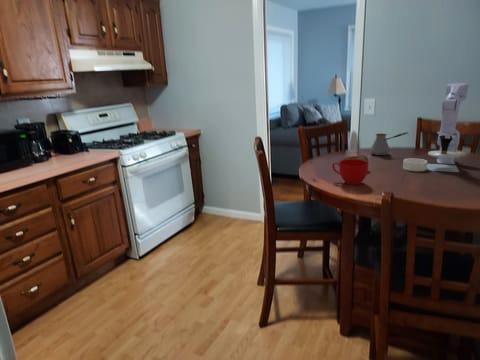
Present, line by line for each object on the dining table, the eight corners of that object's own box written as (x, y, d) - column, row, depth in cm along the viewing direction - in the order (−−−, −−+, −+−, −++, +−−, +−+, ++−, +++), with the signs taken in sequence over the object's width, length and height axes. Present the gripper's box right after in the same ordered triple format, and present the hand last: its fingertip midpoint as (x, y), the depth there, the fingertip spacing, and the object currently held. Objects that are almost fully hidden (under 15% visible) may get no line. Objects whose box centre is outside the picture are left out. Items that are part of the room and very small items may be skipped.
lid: (427, 151, 184) (428, 144, 183) (457, 152, 179) (458, 145, 178) (429, 157, 172) (430, 149, 171) (461, 158, 167) (462, 150, 165)
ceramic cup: (337, 176, 172) (338, 157, 169) (371, 181, 162) (372, 161, 159) (326, 183, 162) (326, 162, 160) (361, 188, 152) (362, 167, 149)
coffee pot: (367, 155, 213) (369, 131, 209) (373, 151, 222) (374, 129, 218) (403, 158, 201) (406, 133, 196) (408, 155, 209) (411, 130, 205)
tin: (343, 173, 178) (344, 157, 175) (340, 171, 181) (340, 156, 178) (368, 169, 181) (369, 154, 179) (364, 168, 184) (365, 153, 182)
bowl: (402, 165, 186) (403, 157, 184) (425, 167, 181) (426, 159, 180) (402, 171, 176) (403, 162, 175) (426, 172, 172) (427, 163, 170)
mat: (425, 164, 187) (425, 163, 186) (455, 166, 181) (455, 165, 181) (427, 170, 174) (427, 170, 174) (459, 172, 169) (459, 172, 169)
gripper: (437, 121, 179) (434, 147, 183) (439, 125, 166) (436, 152, 170) (452, 121, 176) (449, 147, 180) (456, 125, 163) (452, 153, 167)
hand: (444, 150), depth 175 cm, fingers closed on lid, 3 cm apart
